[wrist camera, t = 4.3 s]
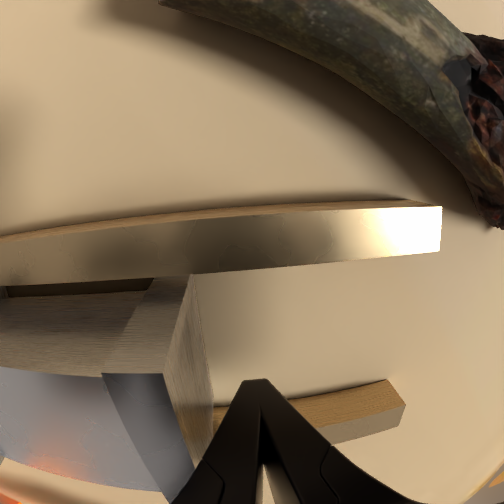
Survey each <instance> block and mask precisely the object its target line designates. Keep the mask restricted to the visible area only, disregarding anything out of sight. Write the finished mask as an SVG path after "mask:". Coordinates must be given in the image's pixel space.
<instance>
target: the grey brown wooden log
mask: <svg viewBox="0 0 504 504" xmlns="http://www.w3.org/2000/svg"><path fill="white" fill-rule="evenodd" d="M159 4H160V5H163V6H166V7H169V8H173V9H177V10H180V11H184V12H187V13H191V14H195V15H198V16H202V17H205V18H209V19H212V20H215V21H218V22H221V23H224V24H227V25H229V26H232V27H235V28H238V29H240V30H243V31H245V32H248V33H251V34H253V35H256V36H258V37H261V38H263V39H266V40H268V41H270V42H273V43H275V44H277V45H280V46H282V47H284V48H286V49H288V50H291V51H293V52H295V53H297V54H299V55H301V56H303V57H305V58H307V59H309V60H311V61H314V62H316V63H317V64H319V65H321V66H323V67H325V68H327V69H329V70H331V71H333V72H334V73H336V74H338V75H339V76H341V77H342V78H344V79H345V80H347V81H348V82H350V83H352V84H353V85H355V86H356V87H357V88H359V89H360V90H362V91H363V92H365V93H366V94H368V95H369V96H370V97H372V98H373V99H374V100H376V101H377V102H379V103H380V104H381V105H383V106H384V107H386V108H387V109H388V110H390V111H391V112H393V113H394V114H395V115H397V116H398V117H399V118H401V119H402V120H403V121H405V122H406V123H407V124H408V125H410V126H411V127H412V128H414V129H415V130H416V131H417V132H418V133H420V134H421V135H422V136H423V137H424V138H426V139H427V140H428V141H429V142H430V143H431V144H433V145H434V146H435V147H436V148H437V149H438V150H439V151H440V152H441V153H442V154H443V155H444V156H445V157H446V158H447V159H448V160H449V161H450V162H451V163H452V164H453V165H454V166H455V167H456V168H457V169H458V170H459V171H460V172H461V173H462V175H463V177H464V178H465V181H466V184H467V186H468V188H469V190H470V192H471V195H472V198H473V200H474V203H475V206H476V209H477V211H478V213H479V215H482V216H483V217H484V218H485V219H486V220H487V221H488V222H489V224H490V225H491V226H493V227H497V228H499V227H500V229H501V230H504V40H500V39H497V38H493V37H488V36H485V35H473V34H469V33H464V32H461V31H460V30H459V29H458V28H457V27H455V26H454V25H453V24H452V23H451V22H450V21H449V20H448V19H447V18H446V17H445V16H444V15H443V14H442V13H441V12H439V11H438V10H437V9H436V8H435V7H434V6H433V5H432V4H431V3H430V2H429V1H427V0H159Z"/></svg>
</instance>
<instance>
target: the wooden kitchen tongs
mask: <svg viewBox="0 0 504 504" xmlns="http://www.w3.org/2000/svg"><path fill="white" fill-rule="evenodd" d="M441 215H442V207H439V206H435V205H431V204H426V203H422V202H417V201H412V200H375V201H341V202H316V203H295V204H278V205H262V206H247V207H234V208H221V209H209V210H197V211H187V212H176V213H166V214H156V215H147V216H138V217H130V218H121V219H113V220H105V221H97V222H90V223H82V224H75V225H68V226H61V227H55V228H48V229H42V230H35V231H29V232H23V233H17V234H11V235H6V236H0V286H14V285H35V284H54V283H72V282H89V281H105V280H120V279H135V278H150V277H164V276H177V275H191V274H204V273H216V272H228V271H241V270H252V269H264V268H275V267H286V266H297V265H308V264H319V263H329V262H340V261H350V260H360V259H369V258H379V257H389V256H398V255H407V254H416V253H425V252H434V251H439V244H440V232H441ZM288 401H289V402H290V404H291V405H292V406H293V407H294V408H295V409H296V410H297V411H298V412H299V413H300V414H301V415H302V416H303V417H304V418H305V419H306V420H307V421H308V422H309V423H310V424H311V425H312V426H313V427H314V428H315V429H316V430H318V431H319V432H320V433H321V434H322V435H323V436H324V437H325V438H326V439H327V440H328V441H329V442H330V443H331V444H332V445H333V444H337V443H341V442H345V441H349V440H353V439H357V438H361V437H364V436H368V435H371V434H375V433H378V432H381V431H384V430H388V429H391V428H394V427H397V426H398V425H399V423H400V420H401V417H402V414H403V412H404V409H405V406H406V404H405V403H404V401H403V400H402V399H401V397H400V396H399V394H398V393H397V392H396V390H395V389H394V388H393V386H392V385H391V383H390V382H389V381H388V380H384V381H380V382H376V383H372V384H368V385H364V386H360V387H356V388H351V389H347V390H342V391H337V392H332V393H327V394H322V395H316V396H311V397H305V398H298V399H292V400H288ZM228 408H229V406H227V407H213V437H214V435H215V433H216V431H217V429H218V427H219V425H220V423H221V422H222V420H223V418H224V416H225V414H226V412H227V410H228Z"/></svg>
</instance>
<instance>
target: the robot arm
mask: <svg viewBox="0 0 504 504" xmlns="http://www.w3.org/2000/svg"><path fill="white" fill-rule="evenodd" d="M331 445H332V444H331V443H330V442H329V441H328V440H327V439H326V438H325V437H324V436H323V435H322V434H321V433H320V432H319V431H318V430H316V429H315V428H314V427H313V426H312V425H311V424H310V423H309V422H308V421H307V420H306V419H305V418H304V417H303V416H302V415H301V414H300V413H299V412H298V411H297V410H296V409H295V408H294V407H293V406H292V405H291V404H290V402H289V401H288V400H287V399H286V398H285V397H284V396H283V395H282V394H281V393H280V392H279V391H278V390H277V389H276V388H275V387H274V386H273V385H272V384H271V383H270V382H269V380H268V379H254V380H244V381H242V383H241V385H240V387H239V389H238V391H237V393H236V395H235V397H234V399H233V401H232V402H231V404H230V406H229V408H228V410H227V412H226V414H225V416H224V418H223V420H222V422H221V423H220V425H219V427H218V429H217V431H216V433H215V435H214V437H213V438H212V440H211V442H210V444H209V446H208V448H207V449H206V451H205V453H204V455H203V457H202V460H200V462H199V463H198V465H197V467H196V469H195V470H194V472H193V474H192V475H191V477H190V478H189V480H188V482H187V483H186V484H185V486H184V487H183V488H182V490H181V491H180V492H179V494H178V495H177V496H176V498H175V499H174V500H173V501H172V502H171V503H170V504H262V497H263V464H264V467H265V471H266V474H267V478H268V481H269V485H270V488H271V492H272V495H273V498H274V502H275V504H426V503H421V502H417V501H414V500H411V499H409V498H407V497H405V496H403V495H401V494H399V493H398V492H396V491H394V490H393V489H391V488H390V487H388V486H386V485H385V484H383V483H382V482H380V481H378V480H377V479H375V478H374V477H372V476H371V475H369V474H368V473H366V472H365V471H363V470H362V469H360V468H359V467H358V466H356V465H355V464H354V463H352V462H351V461H350V460H349V459H348V458H346V457H345V456H344V455H343V454H342V453H341V452H340V451H339V450H338V449H337V448H335V447H334V446H331ZM497 504H504V502H501V503H497Z"/></svg>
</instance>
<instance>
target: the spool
mask: <svg viewBox="0 0 504 504" xmlns="http://www.w3.org/2000/svg"><path fill="white" fill-rule="evenodd" d="M213 397H214V395H213V390H212V385H211V380H210V375H209V370H208V364H207V359H206V353H205V347H204V342H203V336H202V330H201V324H200V317H199V311H198V304H197V298H196V291H195V284H194V277H193V274H191V275H177V276H164V277H155V278H154V280H153V281H152V283H151V284H150V286H149V288H148V289H147V290H146V291H132V292H116V293H100V294H82V295H62V296H39V297H10V298H9V297H8V293H7V290H6V286H0V465H1V463H2V461H3V459H4V457H6V458H9V459H11V460H14V461H16V462H19V463H22V464H25V465H28V466H31V467H34V468H37V469H40V470H43V471H46V472H50V473H53V474H57V475H61V476H64V477H68V478H72V479H77V480H81V481H86V482H91V483H96V484H101V485H107V486H113V487H120V488H127V489H136V490H145V491H157V492H162V493H163V495H164V496H165V498H166V499H167V501H168V502H169V504H170V503H171V502H172V501H173V500H174V499H175V498H176V496H177V495H178V494H179V492H180V491H181V490H182V488H183V487H184V486H185V484H186V483H187V482H188V480H189V478H190V477H191V475H192V474H193V472H194V470H195V469H196V467H197V465H198V463H199V462H200V460H202V457H203V455H204V453H205V451H206V449H207V448H208V446H209V444H210V442H211V440H212V438H213Z"/></svg>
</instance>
